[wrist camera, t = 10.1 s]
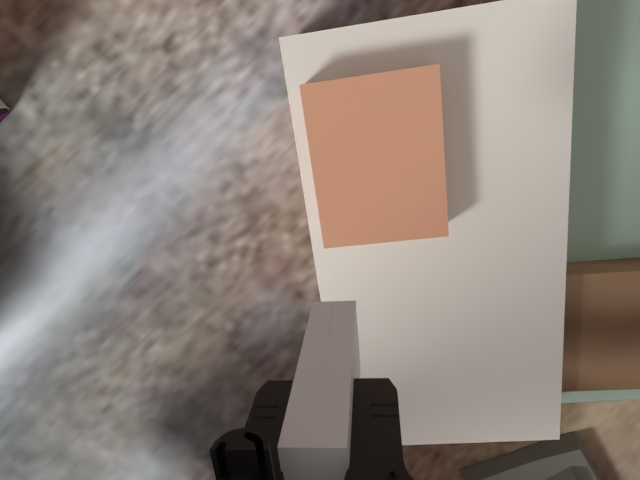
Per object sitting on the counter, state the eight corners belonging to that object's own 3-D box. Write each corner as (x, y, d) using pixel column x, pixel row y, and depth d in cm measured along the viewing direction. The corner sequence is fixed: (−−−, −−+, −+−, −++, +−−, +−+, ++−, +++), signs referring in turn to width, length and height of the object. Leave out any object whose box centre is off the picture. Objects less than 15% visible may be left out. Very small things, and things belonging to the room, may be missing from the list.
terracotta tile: (443, 224, 27) (448, 236, 25) (326, 236, 28) (323, 248, 26) (434, 64, 24) (439, 63, 22) (304, 83, 25) (299, 84, 23)
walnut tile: (648, 370, 33) (665, 388, 31) (546, 374, 34) (556, 392, 32) (664, 255, 30) (683, 267, 28) (551, 263, 31) (563, 275, 29)
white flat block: (539, 400, 35) (559, 439, 32) (346, 409, 38) (344, 447, 34) (547, -1, 26) (577, -13, 22) (290, 41, 28) (279, 37, 25)
